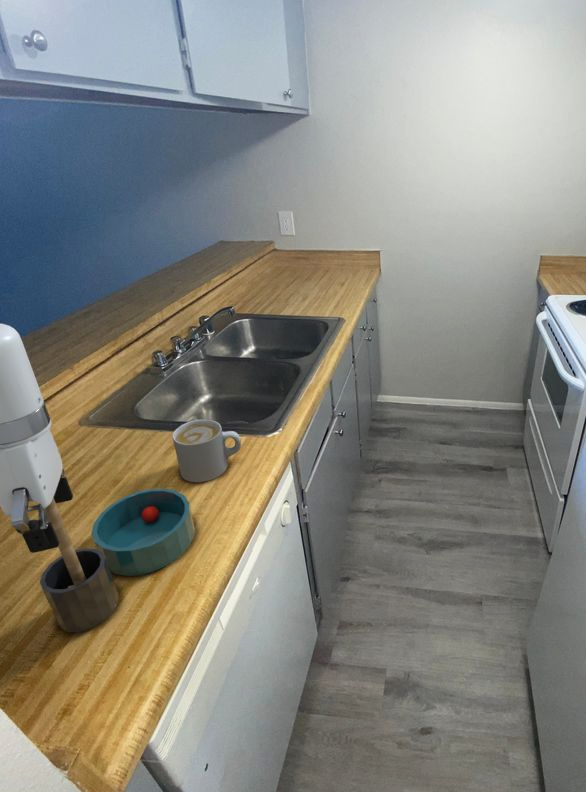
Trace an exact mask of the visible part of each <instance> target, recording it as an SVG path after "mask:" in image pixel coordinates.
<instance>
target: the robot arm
mask: <svg viewBox="0 0 586 792" xmlns="http://www.w3.org/2000/svg"><path fill="white" fill-rule="evenodd" d="M52 424H53V423H52V419H51V417H50V413H49V411H48V409H47V406H46V403H45V401H44V398H43V394H42V391H41V389H40V386H39V383H38V380H37V378H36V375H35V372H34V370H33V367H32V365H31V362H30V359H29V356H28V354H27V351H26V348H25V345H24V343H23V340H22V338H21V336H20V333H19V332H18V331H17V330H16V329H15V327H12V326H11V325H8V324H5V323H0V508H1V510H2V512H3V514H4V515H5V516H7V517H10V525H11V527H13V528H14V529H15V531H16V532H17V533H19V535H22V538H23V540H24V542H25V545H26V546H27V548H28V551H29V552H30V553H32V554H34V553H39V552H43V551H47V550H53V549H56V548H58V546H59V540H58V537H57V535H56V533H55V530H54V528H53V525H52V523H51V522H50V523H48V522H47V511H46V507H48V506H49V504H50V503H51V502H52V499H53V498H54V500H55V503H56V504H61V503H65V502H70V501H72V500H73V498H74V494H73V492H72V489H71V486H70V484H69V481H68V478H67V477H66V471H65V468H63V465H64V464H63V461H62V457H61V453H60V451H59V448H58V446H57V443H56V441H55V438H54V436H53V434H52V432H51V428H52ZM30 502H35V503H36V504H35V505H29V504H30ZM36 511H37V514H38V515H37V516H38V519H31V518H30V517H29V513H30V512H36Z"/></svg>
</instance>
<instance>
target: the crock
mask: <svg viewBox="0 0 586 792" xmlns="http://www.w3.org/2000/svg"><path fill="white" fill-rule="evenodd" d="M74 550H75V552H76V555H77V557H78V560H79V562H80V565H81V567H82V570H83V572H84V575H85V577H86V581H84V582H82V583H80V584H78V585H76V586H74V587H71V588H68V586H72V585H74V583H73V581H72V578H71V576H70V574H69V571H68V569H67V566H66V564H65V562H64V559H63V557H62V555H61V556H58V557H57V558H56V559H54V560H53V561H52V562H51V563H49V564H48V566H47V567H46V568H45V570H43V572H42V573H41V576H40V579H39V584H40V587H41V590H42V591H43V593H44V596H45V598H46V600H47V602H48V604H49V606H50V608H51V610H52V613H53V614H54V617H55V619H56V621H57V623H58V625H59V626H60V628H61V629H62V630H63V631H65V632H67V633H82V632H87V631H89V630H91V629H93V628H95V627H97V626H99V625H101V624H102V623H103V622H105V621H106V620H107V619H108V618H109V617H111V615H112V614H113V613H114V612H115V610H116V609H117V607H118V604H119V601H120V600H119V598H120V595H119V592H118V588H117V586H116V584H115V580H114V578H113V576H112V572H110V570H109V567H108V564H107V561H106V559H105V556H104V555H103V553H102V552H101V551H99V550H97V548H94V547H93V548H91V547H90V548H89V547H84V548H79V549H74Z"/></svg>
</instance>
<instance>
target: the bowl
mask: <svg viewBox="0 0 586 792" xmlns="http://www.w3.org/2000/svg"><path fill="white" fill-rule="evenodd" d="M150 506H153V507H156V508H157V509H158V510H159V516H158V518H157V519H156V520H155V521H153V522H145V521H144V520H143V519H142V512H143V510H144V509H145V508H147V507H150ZM91 529H92V530H91V537H92V539H93V542H94V544H95V549H97V550H99V551H101V552H102V553H103V555H104V556H105V559H106V561H107V564H108V567H109V570H110V572H111V574H115V575H119V576H124V577H132V576H141V575H146V574H151V573H154V572H155V571H158V570H161V569H162V568H163V569H164V568H165V567H167V566H168V565H170V564H172V563H173V562H175V561H176V560H177V559H178V558H180V557H181V556H182V555H183V554H184V553H185V552H186V551H187V550H188V548H189V547H190V545H191V544H192V542H193V540H194V536H195V530H196V529H195V522H194V518H193V513H192V509H191V505H190V502H189V500H188V498H187V496H185V494H183V493H181V492H179V491H178V490H175V489H171V488H148V489H144V490H139V491H136V492H133V493H131V494H127V495H125V496H123V497H121V498H120V499H118V500H117V501H114V502H113V503H111V504H110V505H109V506H107V507H106V508H105V509H104V510H103V511H102V512H100V514H99V515H98V517H97V518H96V519H95V521H94V523H93V524H92V528H91Z"/></svg>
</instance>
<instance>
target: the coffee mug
mask: <svg viewBox="0 0 586 792" xmlns="http://www.w3.org/2000/svg"><path fill="white" fill-rule="evenodd" d="M228 439H233V441H234V446H231V447H228V446H227V445H226V441H227V440H228ZM172 441H173V446H174V450H175V455H176V459H177V463H178V467H179V468H178V469H179V472H180V476H181V478H182V479H183V480H185V481H187V482H190V483H204V482H209V481H212V480H214V479H217V478H219V477H220V476H221V475H223V474H224V473H225V472H226V470H227V468H228V466H229V465H228V464H229V463H228V459H229V458H230V457H231V456H233V455H236V454H237V453H238V452H239V451H240V450H241V447H242V441H241V436H240V435H239V434H238V432H236V431H232V430H229V431H228V430H227V431H223V428H222V425H221V424H220V422H217V421H215V420H212V419H196V420H192V421H188V422H185V423H183V424H181V425H179V426H178V427H177V428H176V429H175V430H174V431H173V432H172Z"/></svg>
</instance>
